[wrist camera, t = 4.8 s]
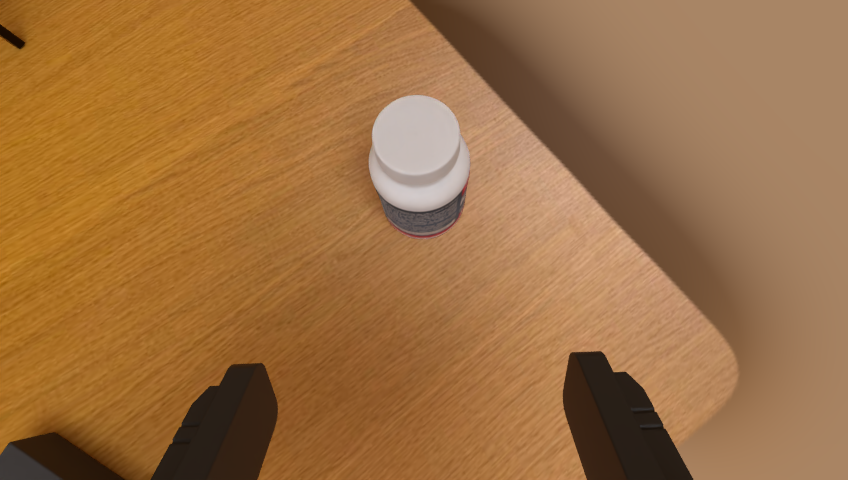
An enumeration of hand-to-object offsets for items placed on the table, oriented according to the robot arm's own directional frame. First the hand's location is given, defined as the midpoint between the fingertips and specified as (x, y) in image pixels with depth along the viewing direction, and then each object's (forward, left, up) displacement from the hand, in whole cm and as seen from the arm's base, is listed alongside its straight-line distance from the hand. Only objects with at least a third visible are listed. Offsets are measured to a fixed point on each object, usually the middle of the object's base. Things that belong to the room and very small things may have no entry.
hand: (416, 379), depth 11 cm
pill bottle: (+5, -9, -14) cm, 17 cm away
